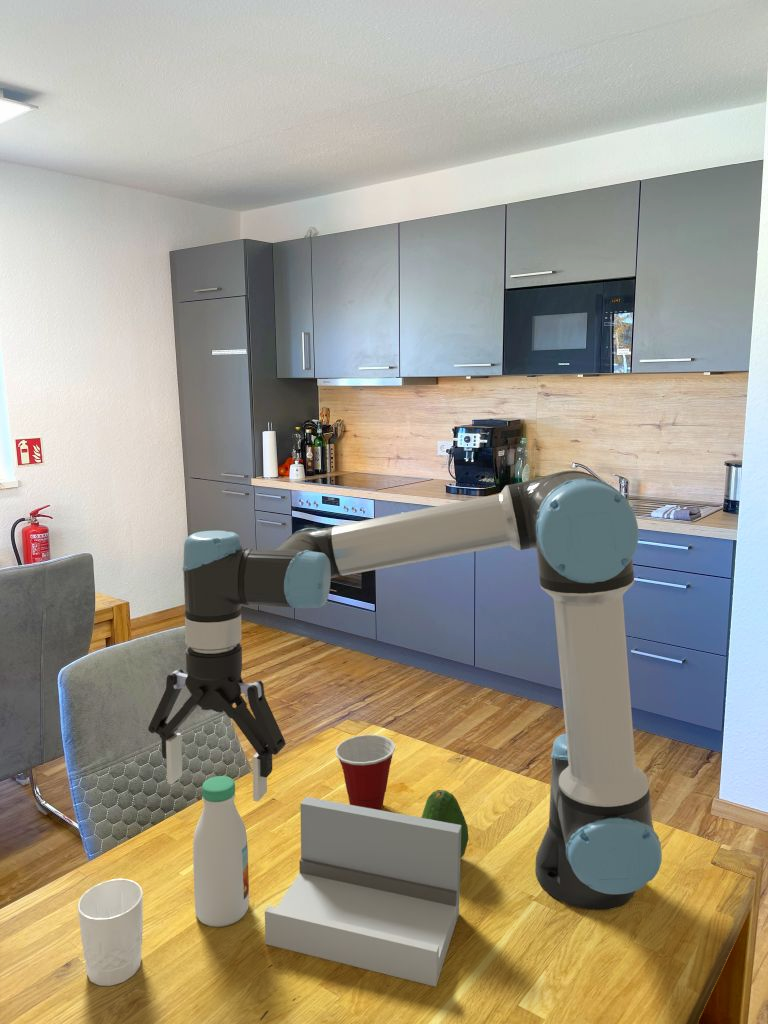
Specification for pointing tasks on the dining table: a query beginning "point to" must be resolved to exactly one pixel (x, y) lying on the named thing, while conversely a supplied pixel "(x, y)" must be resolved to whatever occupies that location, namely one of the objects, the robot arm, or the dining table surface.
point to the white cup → (112, 930)
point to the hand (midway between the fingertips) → (216, 787)
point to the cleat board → (371, 891)
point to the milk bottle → (220, 857)
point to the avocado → (446, 813)
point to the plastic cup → (366, 768)
